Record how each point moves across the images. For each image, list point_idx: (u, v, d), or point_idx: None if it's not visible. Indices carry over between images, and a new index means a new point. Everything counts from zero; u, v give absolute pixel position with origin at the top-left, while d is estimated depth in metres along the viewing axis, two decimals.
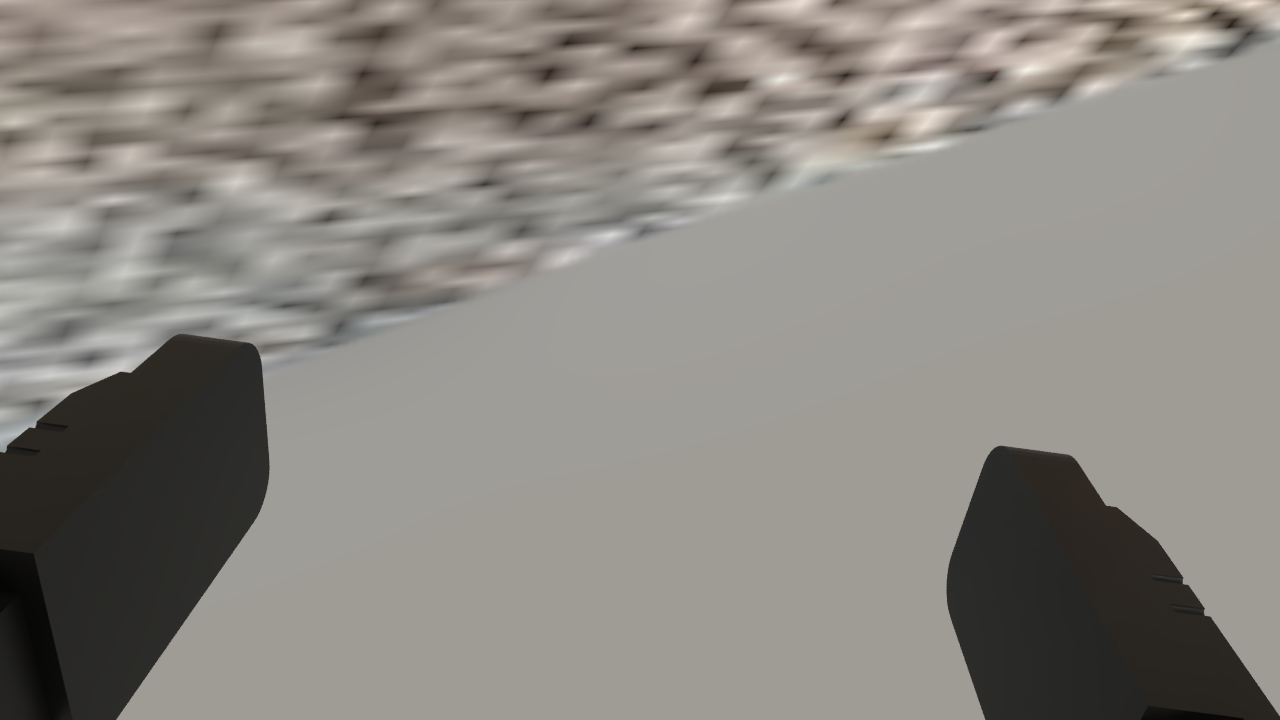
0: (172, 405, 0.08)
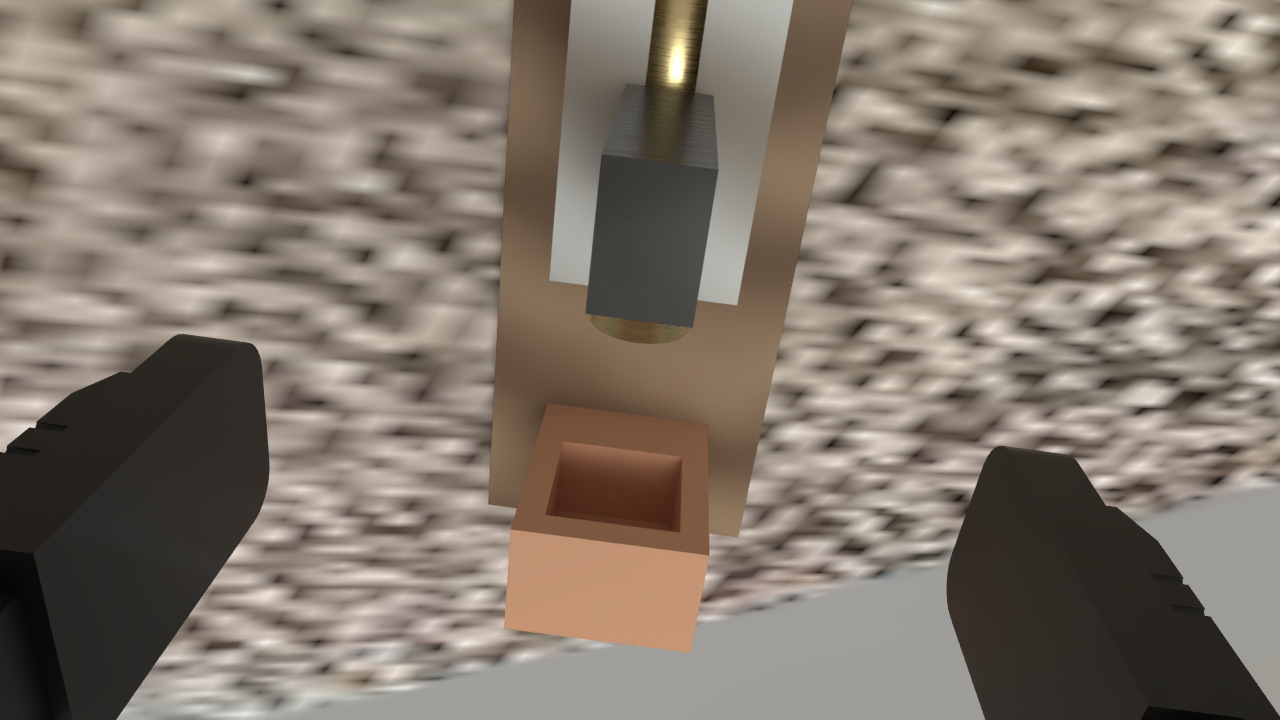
0: (172, 405, 0.08)
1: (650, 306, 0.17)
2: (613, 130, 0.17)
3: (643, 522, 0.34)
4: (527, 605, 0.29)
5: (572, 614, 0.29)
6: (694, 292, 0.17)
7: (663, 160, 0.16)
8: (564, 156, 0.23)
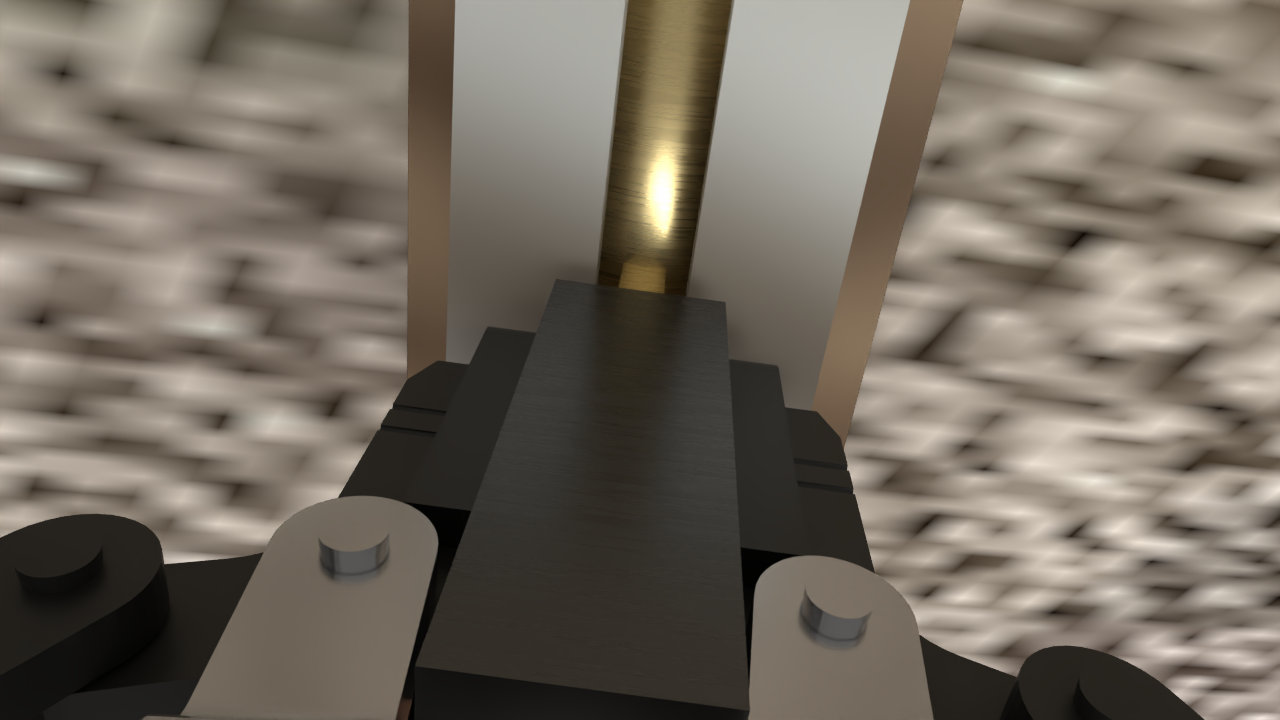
0: None
1: None
2: (484, 499, 0.07)
3: None
4: None
5: None
6: None
7: (593, 677, 0.06)
8: None
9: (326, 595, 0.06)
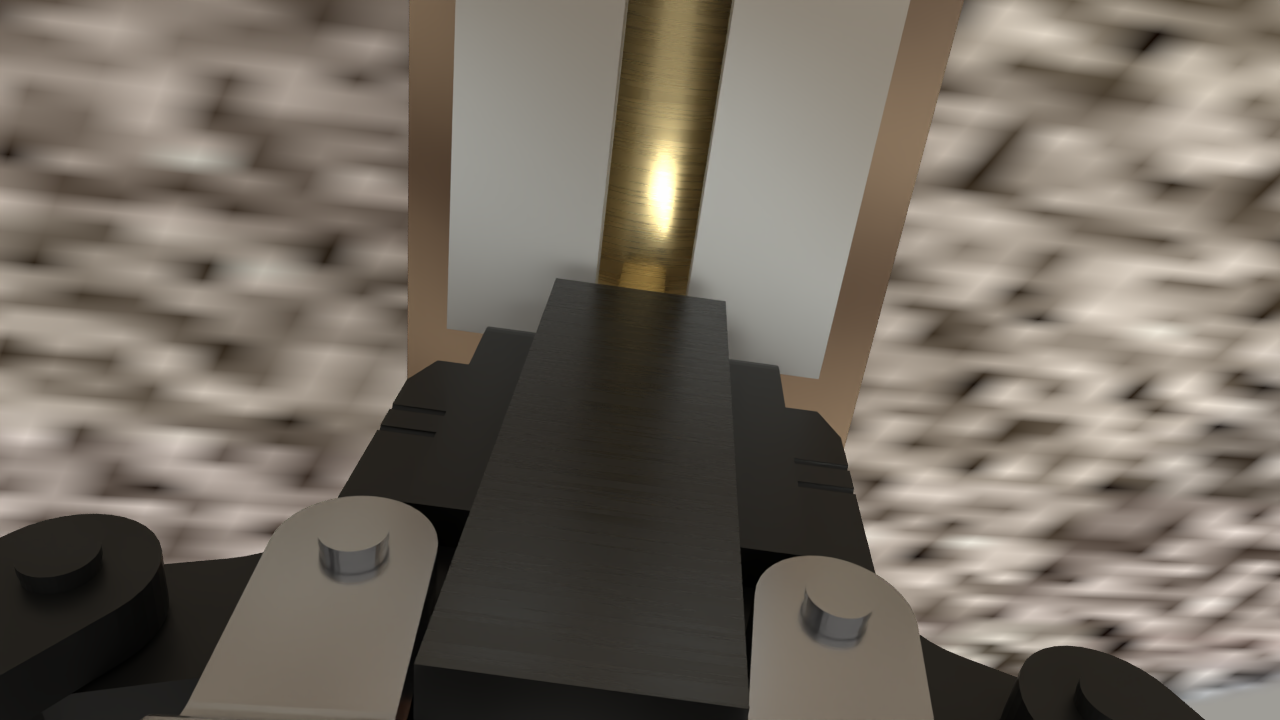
0: None
1: None
2: (484, 497, 0.07)
3: None
4: None
5: None
6: None
7: (592, 675, 0.06)
8: (465, 72, 0.11)
9: (326, 595, 0.06)
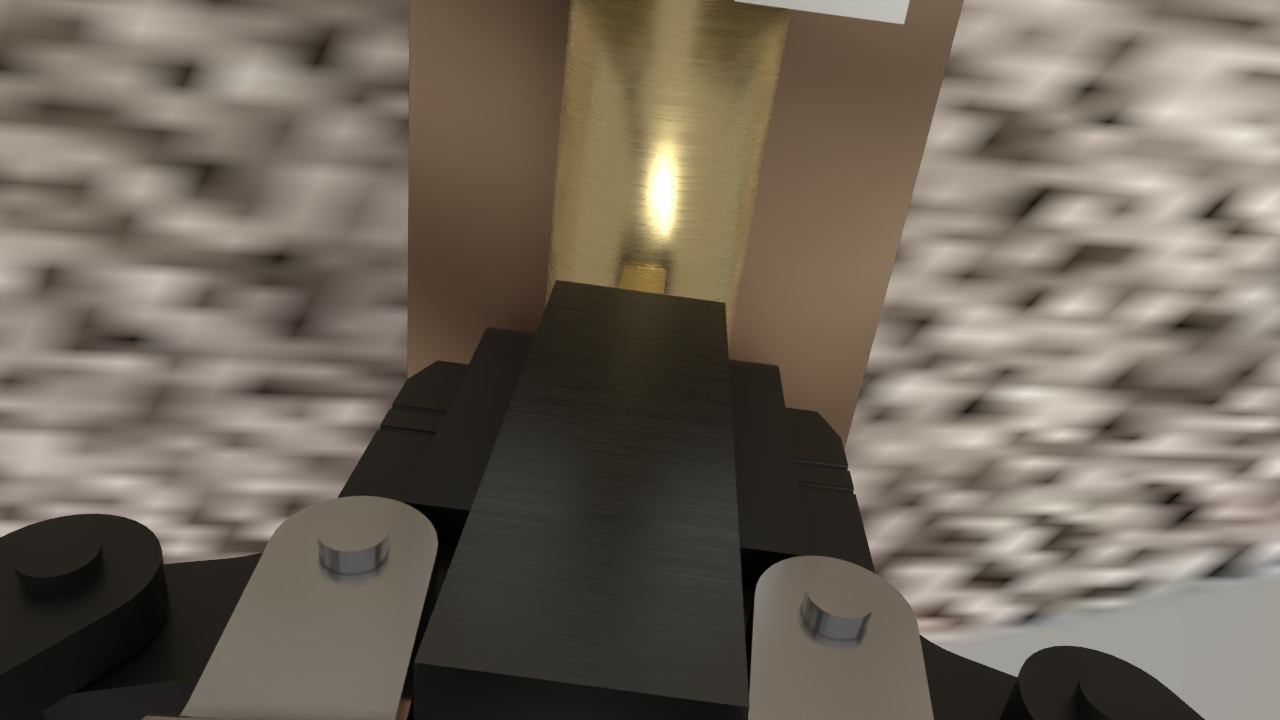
0: None
1: None
2: (484, 497, 0.07)
3: None
4: None
5: None
6: None
7: (592, 673, 0.06)
8: None
9: (326, 595, 0.06)
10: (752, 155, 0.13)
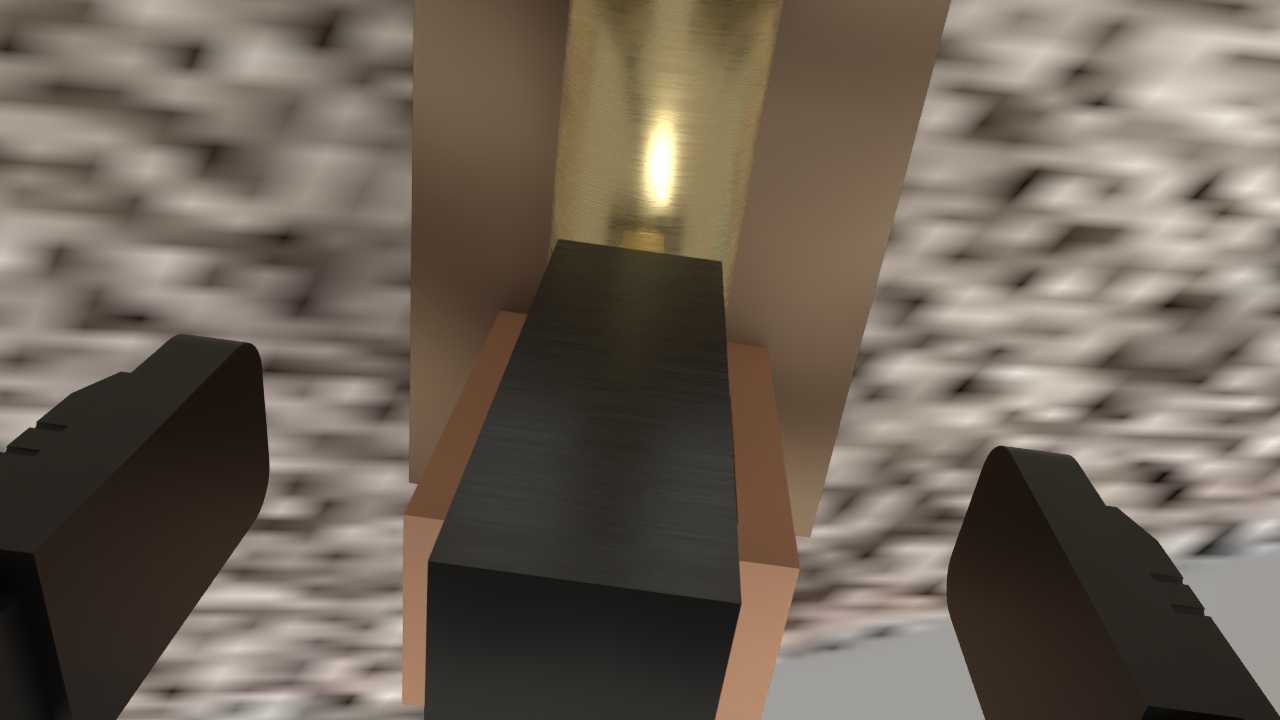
0: (172, 405, 0.08)
1: None
2: (491, 424, 0.07)
3: None
4: None
5: None
6: None
7: (594, 573, 0.06)
8: None
9: None
10: (749, 124, 0.13)
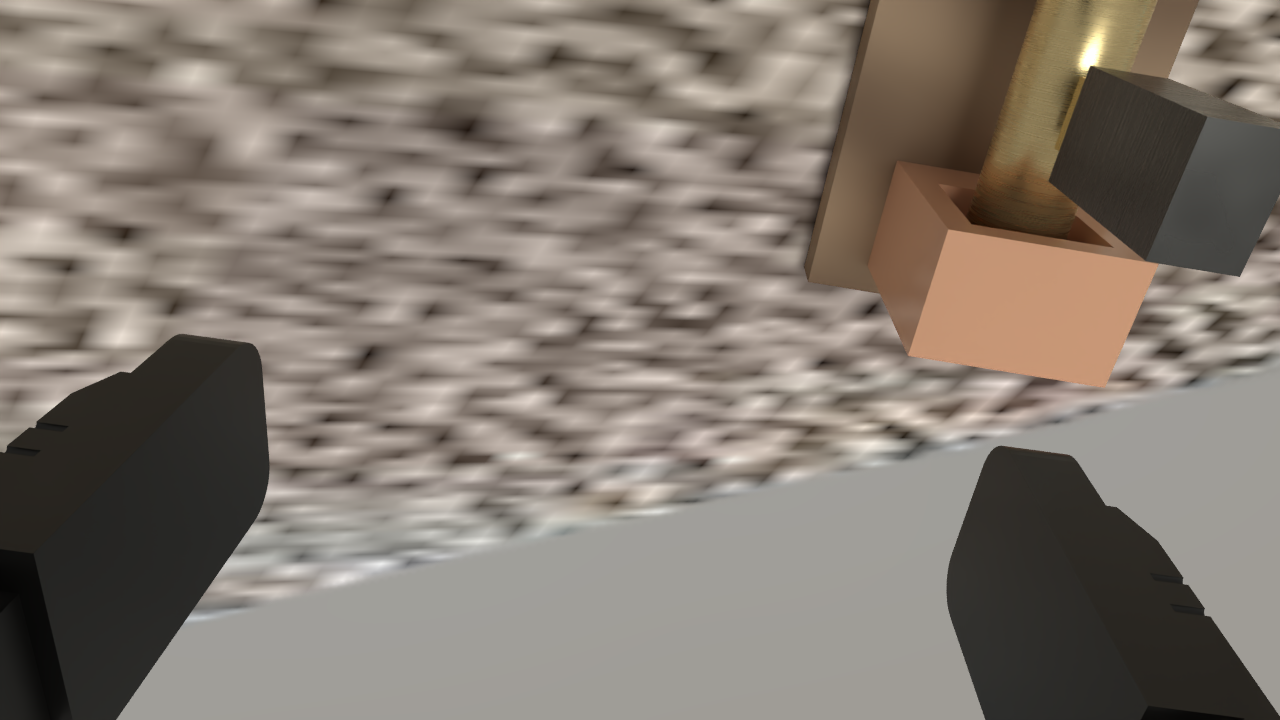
0: (172, 405, 0.08)
1: (1207, 256, 0.19)
2: (1171, 100, 0.19)
3: None
4: (940, 326, 0.27)
5: (987, 338, 0.27)
6: (1250, 244, 0.19)
7: (1258, 124, 0.18)
8: None
9: None
10: (1148, 22, 0.25)
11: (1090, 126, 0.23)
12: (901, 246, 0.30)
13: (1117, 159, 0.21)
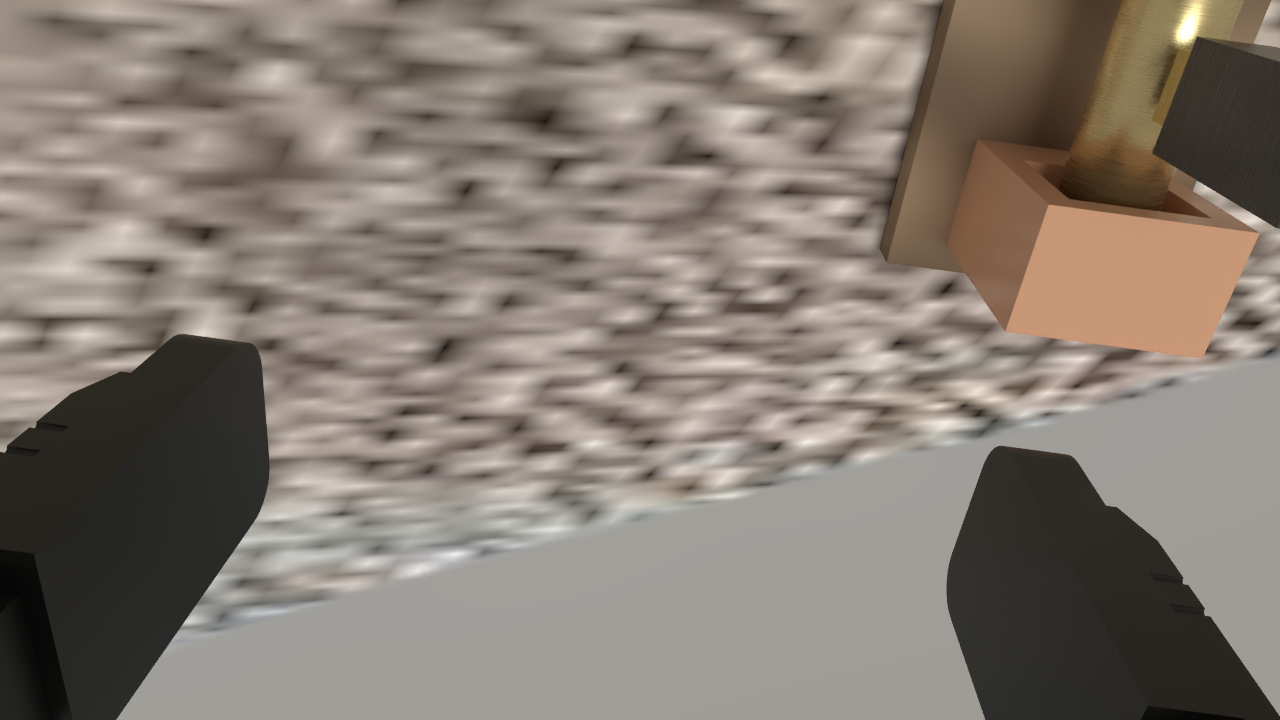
0: (172, 405, 0.08)
1: None
2: None
3: None
4: (1039, 302, 0.27)
5: (1085, 312, 0.27)
6: None
7: None
8: None
9: None
10: None
11: (1201, 97, 0.23)
12: (988, 224, 0.30)
13: (1236, 128, 0.21)
